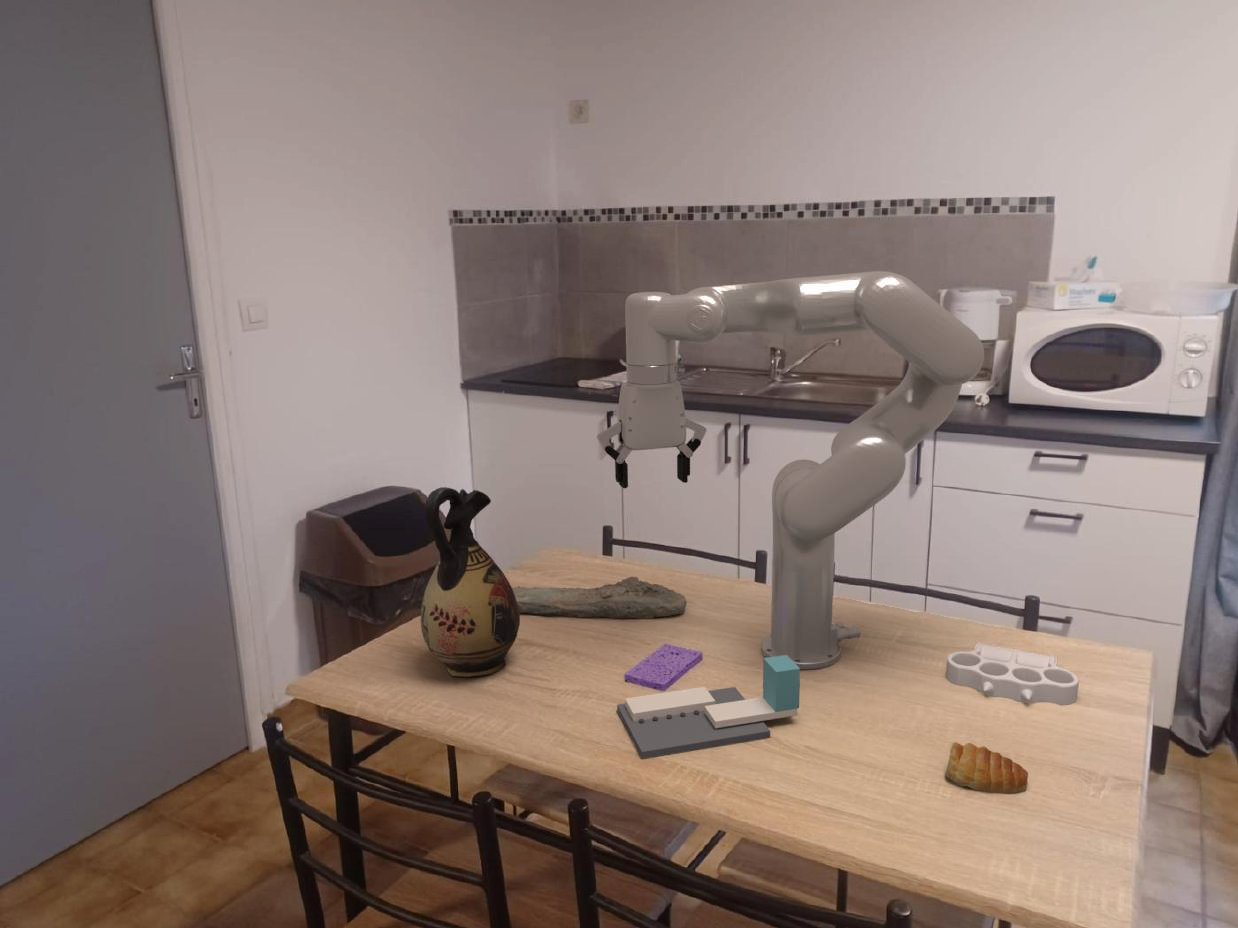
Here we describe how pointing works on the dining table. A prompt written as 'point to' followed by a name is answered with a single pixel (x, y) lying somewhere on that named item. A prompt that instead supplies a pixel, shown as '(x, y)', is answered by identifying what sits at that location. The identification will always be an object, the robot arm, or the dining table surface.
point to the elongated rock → (602, 600)
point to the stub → (775, 702)
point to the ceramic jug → (466, 592)
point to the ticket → (668, 704)
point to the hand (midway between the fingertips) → (653, 483)
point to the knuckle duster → (1013, 675)
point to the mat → (689, 730)
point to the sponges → (663, 667)
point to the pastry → (984, 770)
